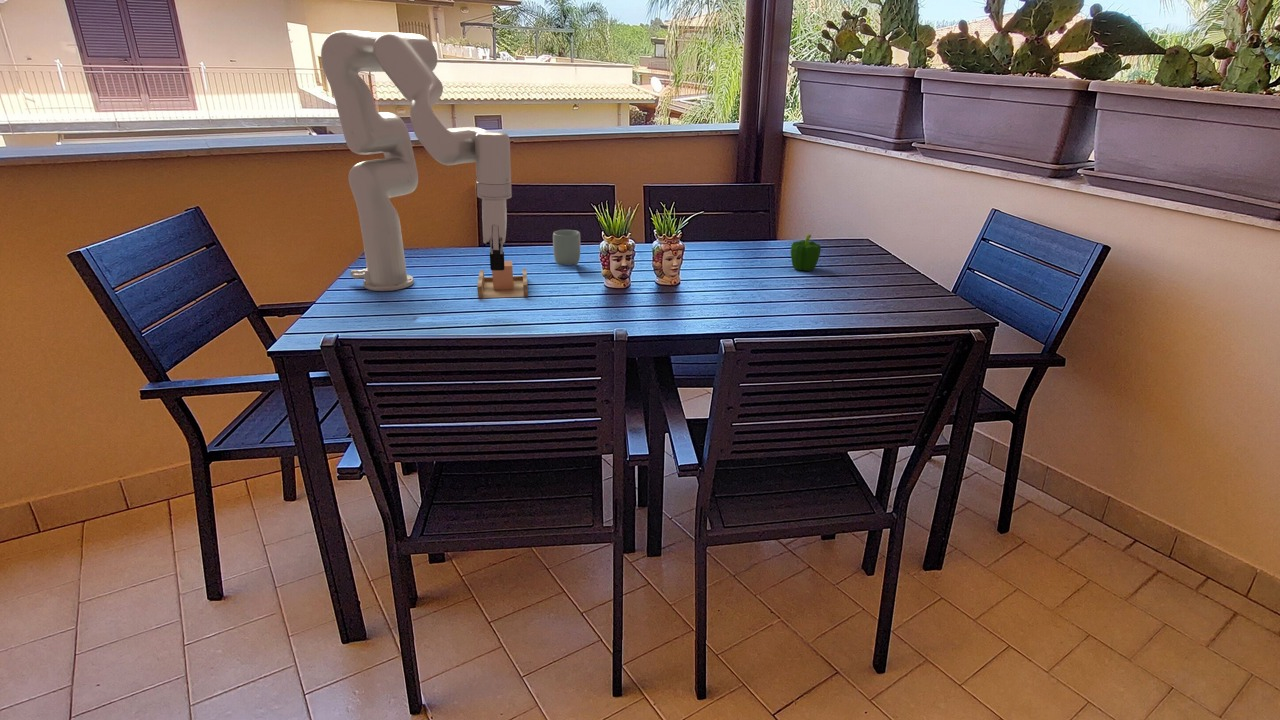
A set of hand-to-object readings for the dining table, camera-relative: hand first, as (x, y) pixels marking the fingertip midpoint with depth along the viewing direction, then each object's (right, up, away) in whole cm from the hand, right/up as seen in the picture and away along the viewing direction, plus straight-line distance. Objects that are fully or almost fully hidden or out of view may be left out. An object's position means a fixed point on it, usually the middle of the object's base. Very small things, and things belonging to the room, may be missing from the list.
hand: (497, 269), depth 153 cm
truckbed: (-1, -4, +14) cm, 15 cm away
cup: (+12, +6, +39) cm, 41 cm away
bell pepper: (+82, +5, +40) cm, 91 cm away
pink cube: (-2, -2, +15) cm, 15 cm away
